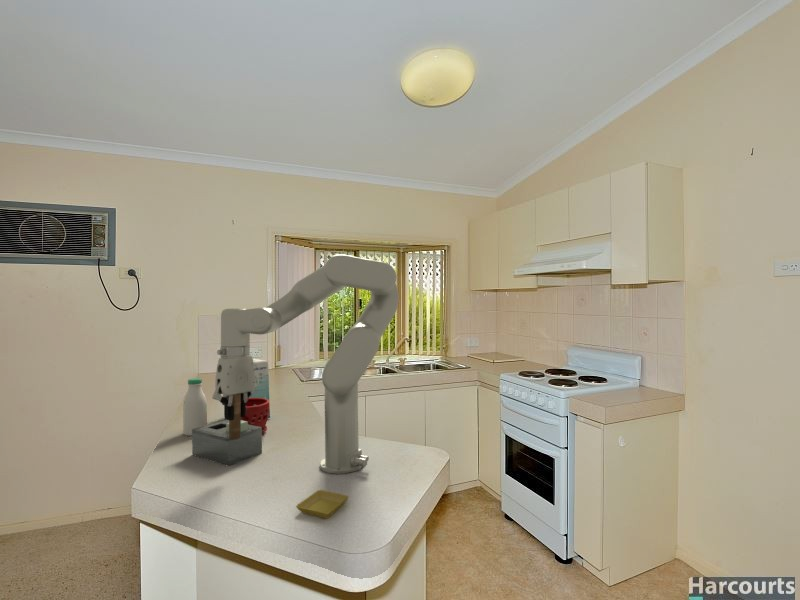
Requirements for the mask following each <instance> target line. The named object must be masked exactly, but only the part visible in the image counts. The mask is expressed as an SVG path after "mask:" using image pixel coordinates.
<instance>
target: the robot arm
mask: <svg viewBox="0 0 800 600" xmlns="http://www.w3.org/2000/svg"><path fill="white" fill-rule="evenodd" d="M397 278H398V277H397V273H396V271H395V269H394V268H393V266H392V265H390V264H389V263H388V262H384V261H380V260H373V259H368V258H362V257H357V256H353V255H347V254H342V253H341V254H335V255H332V256H331V257H329V258H328V260H327V261H326V262H325V264H324V265H323V266H321V267H320V268H318V269H316V270H315V271H312V272H311V273H310V274H308V275H306V276H305V277H303V278H301V279H300V280H299V281H297V282H296V283H295V284H294V285H293V286H292V288H291V289H290V290H289V291H288V292H287V293H286V294H285V295H283V296H282V297H280V298H279V299H277V300H275V301H274V302H272V303H271V304H269V305H268V306H265V307H255V308H249V309H248V308H237V307H236V308H224V309H223V310H222V311H221V313H220V349H217V351H216V353H217V355H218V356H220V358H218V359H217V365H216V369H215V370H216V371H215V384H214V386H215V390H214V392H213V394H212V400H216V401H218V402H220V403H221V405H222V406H224V407H223V409H224V411H223V415H224V420H230V421H232V420H234V406H232V400H233V395H236V394H240V393H241V417H245V412H246V402H247V401H248V398H249V397H250V395H251V394H252V393H253V392H254V391H255V390H256V387H255V385H256V381H255V368H254V362H253V358H254V357H253V356H252V355H250V353H251V351H250V348H251V347H250V346H251V344H250V343H251V341H250V340H251V338H250V335H251V334H253V335H259V336H260V335H266V334H269V333H273V332H275V331H277V330H278V329H281V328H282V327H283V326H285V325H287V324H288V323H290V322H292V321H294V319H296V318H298V317H299V316H301V315H302V314H304V313H306V312H308V311H310V310H312V309H313V308H315V307H317V305H319V304H321V303H322V302H323V301H325V300H327V299H328V298H330V297H331V296H333V295H335V294H337V293H338V292H340V291H341V290H343V289H344V288H346V287H348V288H353V289H358V290H365V291H369V292H370V297H369V301H368V302H367V304H366V306H365V307H364V309H363V310H362V313H361V314H360V315H359V317H358V319H357V320H356V321H355V323H354V324H353V325H352V326H351V327H350V328H349V330H347V332H346V335H345V336H344V337H343V338H342V341H341V342H340V344H339V345H338V346H337V348H336V349H335V351H334V352H333V354H332V356H331V357H330V358H329V359H328V360H327V362H326V364H325V366H323V367H324V368H323V369H322V372H321V380H322V384H323V387H324V439H325V440H324V453H325V454H324V455H325V457H324V458H323V459H321V461H319V468H320V470H321V471H323V472H325V473H328V474H334V475H335V474H337V475H339V474H343V475H344V474H349V473H354V472H356V471H358V470H360V469H362V468H364V467H366V466H367V465H368V461H369V456H367V455H363V453H362V452H363V451H362V448H359V446H360V445H359V388H358V387H359V384H358V383H359V381H360V380H361V378H362V376H363V375H364V373H365V372H366V370H367V369H368V367H369V365H370V364H371V363H372V361H373V359H374V358H375V357H376V355H377V353H378V351H379V348H380V341H381V338H382V336H383V335H384V333H385V331H386V330H387V329H388V327H389V325H390V323H391V321H392V320H393V319H394V317H395V314H396V312H397V310H398V306H399V300H400V297H399V295H400V294H399V289H398V285H397V284H396V283H397Z"/></svg>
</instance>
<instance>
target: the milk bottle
mask: <svg viewBox="0 0 800 600" xmlns="http://www.w3.org/2000/svg"><path fill="white" fill-rule="evenodd" d="M202 382H203V379H202V378H200V377H196V378H189V379H188V380H187V386H188V390H187V392H186V395H185V397H184V400H183V414H182V415H183V420H182V421H183V422H182V424H183V426H182V428H183V435H184V436H186V435H188V436H190V437H192V429H195V428H199V427H202V426H206V425H208V419H207V418H208V412H207V411H208V409H207V408H208V406H207V397H206V395H205V393H204V391H203V388H202V385H203V383H202Z"/></svg>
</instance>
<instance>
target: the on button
mask: <svg viewBox="0 0 800 600" xmlns="http://www.w3.org/2000/svg"><path fill="white" fill-rule="evenodd" d="M246 430H248V422H247V421H242V420H241V432H243V431H246ZM226 432H228V433H229V423H226Z"/></svg>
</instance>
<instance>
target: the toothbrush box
mask: <svg viewBox="0 0 800 600" xmlns="http://www.w3.org/2000/svg"><path fill="white" fill-rule="evenodd" d="M252 358H253V362H254V368H255V381H256V385H255V387H256V390H255V391H254V392H253V393H252V394H251V395H250V397H249V398H264V399H268V400H269V401H270V381H269V380H270V379H269V378H270V377H269V361H268V360H264V359H258V358H254V357H252ZM270 404H271V403H269V416H268V419H271V410H270ZM254 406H257V405H254Z"/></svg>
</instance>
